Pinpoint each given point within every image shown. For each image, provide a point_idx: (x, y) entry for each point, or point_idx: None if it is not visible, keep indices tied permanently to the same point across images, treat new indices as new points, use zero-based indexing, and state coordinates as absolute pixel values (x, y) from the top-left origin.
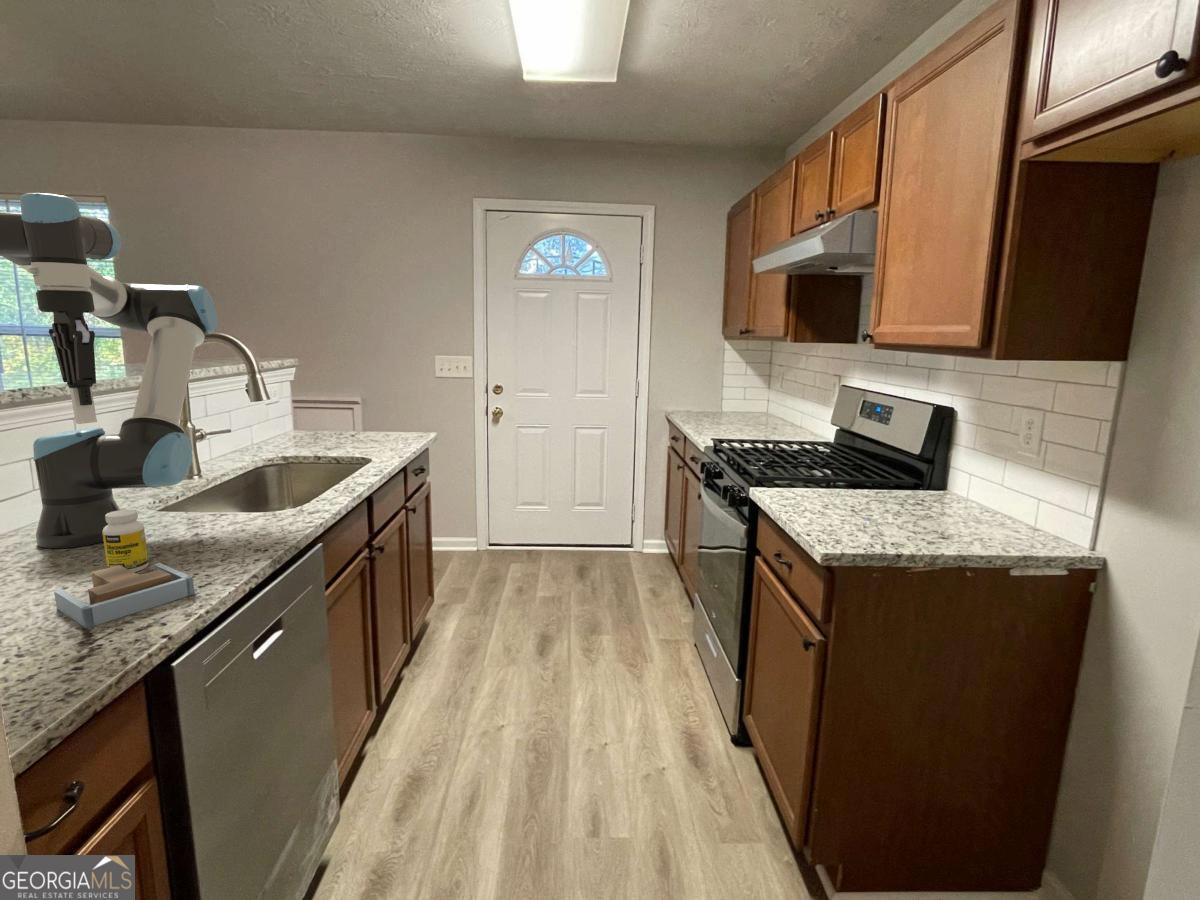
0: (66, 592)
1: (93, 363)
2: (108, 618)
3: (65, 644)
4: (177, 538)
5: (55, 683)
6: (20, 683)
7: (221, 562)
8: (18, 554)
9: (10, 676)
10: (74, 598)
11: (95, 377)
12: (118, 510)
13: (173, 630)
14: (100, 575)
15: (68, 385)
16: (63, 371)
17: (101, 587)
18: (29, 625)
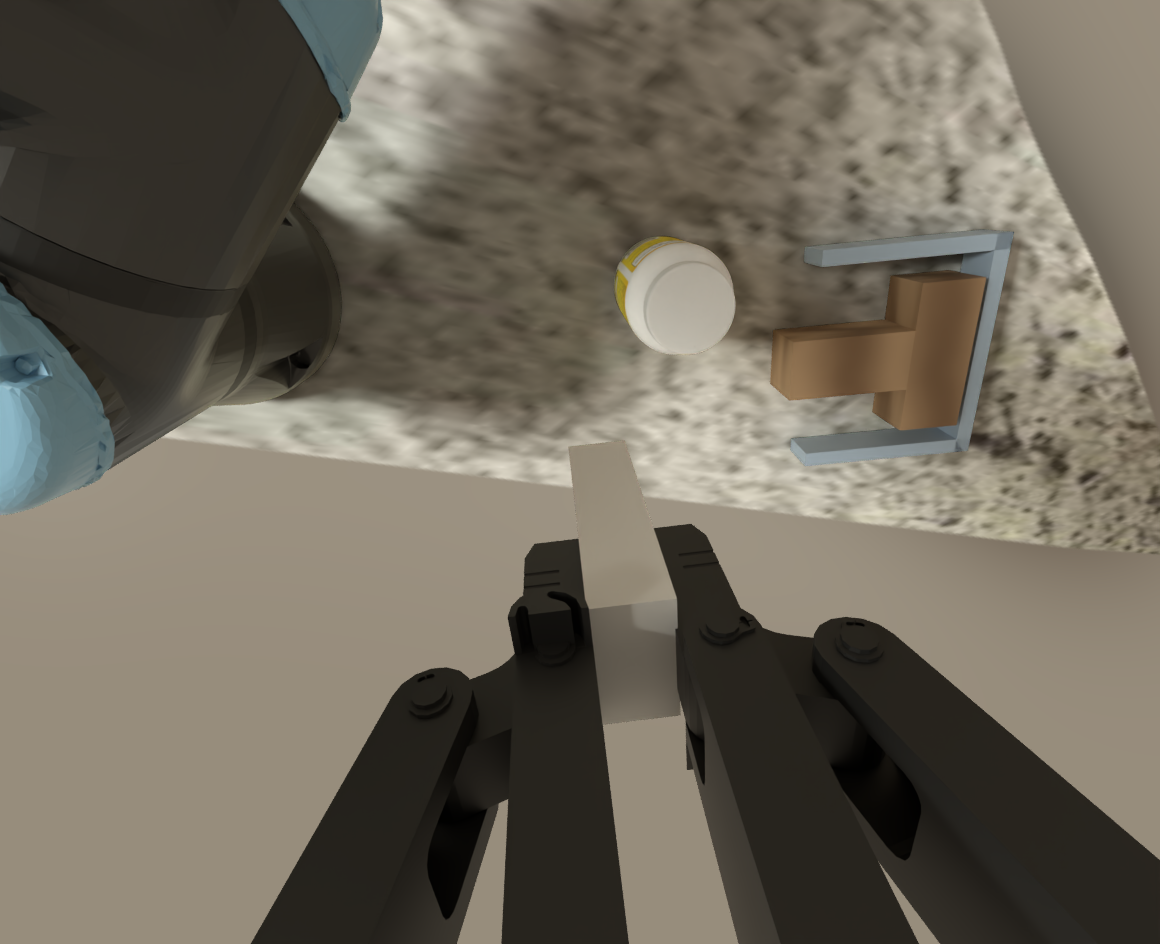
0: (837, 452)
1: (1143, 870)
2: None
3: (977, 471)
4: (451, 69)
5: (1101, 506)
6: (1050, 535)
7: (824, 69)
8: (306, 439)
9: (1013, 540)
10: (888, 448)
11: (931, 672)
12: (648, 307)
13: (1115, 332)
14: (832, 392)
15: (690, 761)
16: (469, 895)
17: (917, 410)
18: (832, 494)
